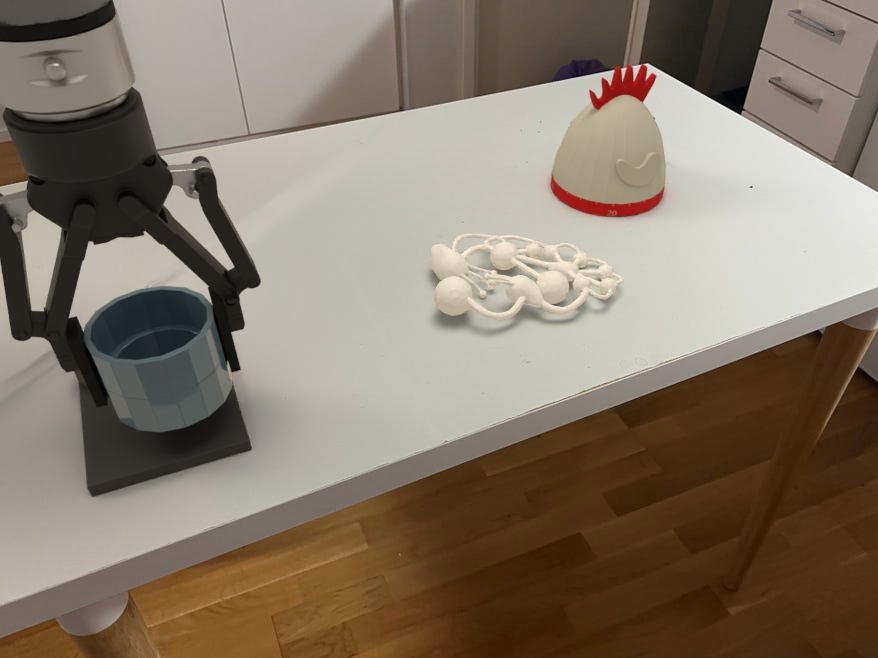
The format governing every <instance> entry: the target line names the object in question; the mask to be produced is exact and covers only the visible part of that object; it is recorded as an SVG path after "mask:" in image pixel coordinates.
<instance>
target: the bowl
mask: <svg viewBox="0 0 878 658" xmlns="http://www.w3.org/2000/svg"><path fill="white" fill-rule="evenodd" d="M83 332H84V336H83V343H84V345H85V348H86V350H87V352H88V354H89V357H90V359H91V361H92V364H93V366H94V368H95V371H96V373H97V375H98V377H99V380H100V382H101V384H102V387H103V389H104V391H105V394H106V396H107V398H108V400H109V403H110V405H111V407H112V409H113V411H114V412H115V414H116V416H117V417H118V419H119V420H120V421H121V422H122V423H124V424H126V425H128V426H130V427H132V428H134V429H136V430H139V431H151V432H165V431H170V430H176V429H181V428H185V427H188V426H190V425H192V424H195V423H197V422H199V421H200V420H203V419H205V418H207V417H208V416H210V415H211V414H212V413H213V412H214V411H215V410H217V409H218V408H219V407H220V406H221V405H222V404H223V403H224V402H225V400H226V398H227V396H228V394H229V392H230V390H231V388H232V382H233V379H232V378H233V377H232V373H231V369H230V366H229V363H228V359H227V356H226V352H225V348H224V345H223V341H222V337H221V334H220V330H219V326H218V323H217V319H216V315H215V312H214V308H213V305H212V302H210V300H209V299H208V298H207V297H206V296H205V295H204V294H203V293H201V292H198V291H195V290H193V289H190V288H187V287H185V286H173V285H172V286H171V285H159V286H151V287H146V288H144V287H143V288H139V289H135V290H133V291H130V292H128V293H125V294H122V295H119V296H117V297H115V298H113V299H111V300H109V301H108V302H107V303H105V304H103V305H102V306H101V307H100V308H98V309H97V310H95V312H94V313H93V315H92V316H91V317H90V318H89V319H88V321H87V322H86V324H84V329H83Z"/></svg>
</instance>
